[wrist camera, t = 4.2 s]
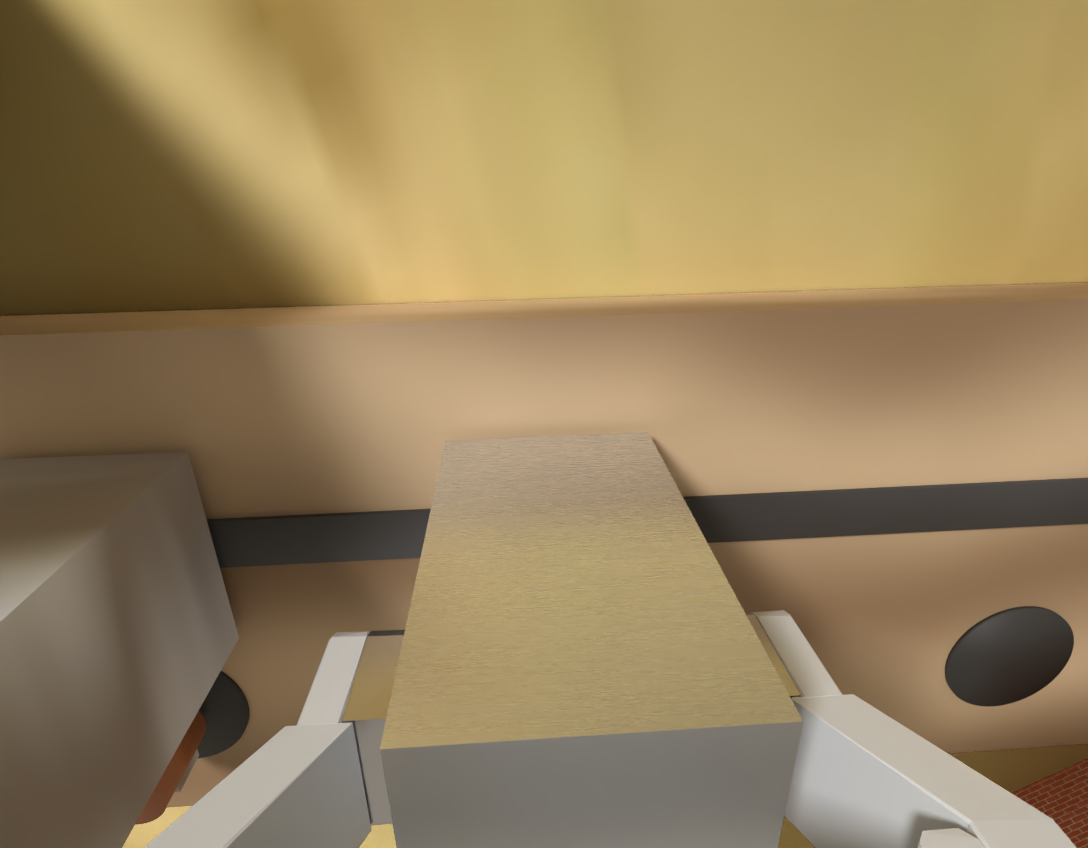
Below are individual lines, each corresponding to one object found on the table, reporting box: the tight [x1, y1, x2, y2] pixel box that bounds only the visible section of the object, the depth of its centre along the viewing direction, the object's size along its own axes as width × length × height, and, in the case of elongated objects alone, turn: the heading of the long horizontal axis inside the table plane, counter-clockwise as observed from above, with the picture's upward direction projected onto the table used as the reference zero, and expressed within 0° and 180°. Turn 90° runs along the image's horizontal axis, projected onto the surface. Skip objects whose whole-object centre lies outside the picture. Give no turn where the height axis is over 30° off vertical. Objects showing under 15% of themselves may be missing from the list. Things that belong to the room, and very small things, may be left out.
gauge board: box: [0, 282, 1088, 848], centre depth 10 cm, size 11×27×8 cm, turn 91°
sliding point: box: [380, 432, 803, 848], centre depth 9 cm, size 7×4×6 cm, turn 1°
